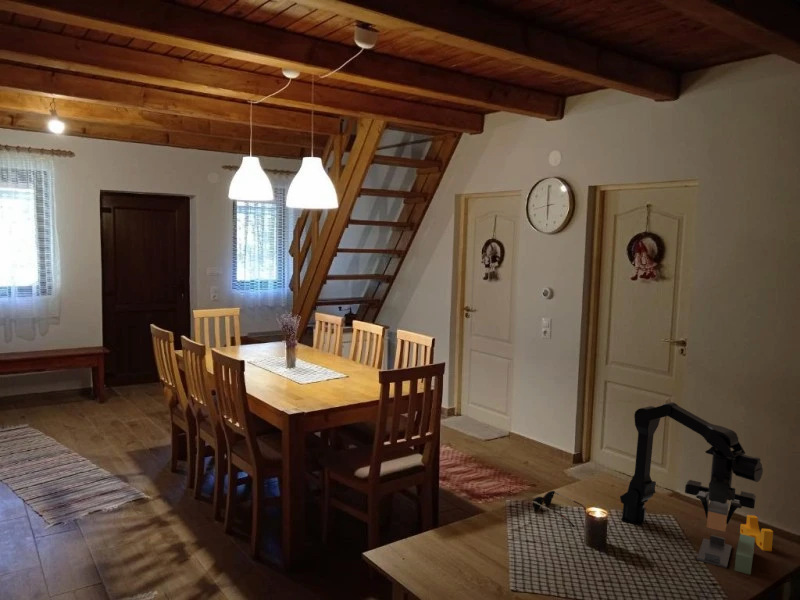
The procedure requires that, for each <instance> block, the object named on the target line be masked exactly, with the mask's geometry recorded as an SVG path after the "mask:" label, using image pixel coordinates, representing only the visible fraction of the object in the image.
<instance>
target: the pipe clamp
mask: <svg viewBox="0 0 800 600" xmlns="http://www.w3.org/2000/svg"><path fill="white" fill-rule="evenodd" d="M739 534H743V535H747V536H751V537H755V545H757V546H758V548H759V549H760V550H762V551H764V552H772V551H773V549H772V548H773V539H774V531H773V530H772V529H770V528H761V530H760V526H759V518H758V517H757V516H756V515H752V514H747V515H746V523H740V529H739Z"/></svg>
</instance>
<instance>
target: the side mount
mask: <svg viewBox="0 0 800 600" xmlns="http://www.w3.org/2000/svg"><path fill="white" fill-rule="evenodd" d="M699 548H700V549H699V551H698V554H697V556H696V561H700V562H704V563H707V564H709V565H715V566H718V567H722V568H725V569H727V568H728V565H729V561H730V557H731V552H732V548H733V547H732V545H731V544H729V543H728V544H727V543H726V538H725V537H722V536H718V535H714V534H710V539H707V538H702V542H701V545H700V547H699Z"/></svg>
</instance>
